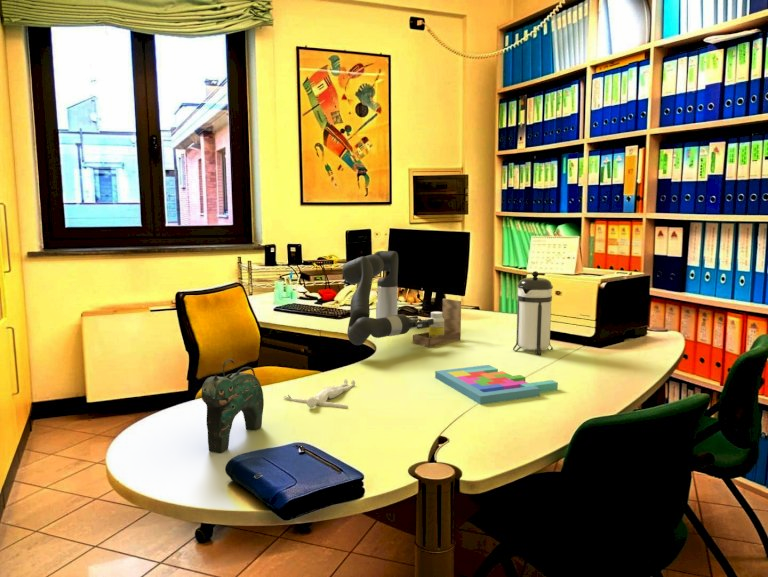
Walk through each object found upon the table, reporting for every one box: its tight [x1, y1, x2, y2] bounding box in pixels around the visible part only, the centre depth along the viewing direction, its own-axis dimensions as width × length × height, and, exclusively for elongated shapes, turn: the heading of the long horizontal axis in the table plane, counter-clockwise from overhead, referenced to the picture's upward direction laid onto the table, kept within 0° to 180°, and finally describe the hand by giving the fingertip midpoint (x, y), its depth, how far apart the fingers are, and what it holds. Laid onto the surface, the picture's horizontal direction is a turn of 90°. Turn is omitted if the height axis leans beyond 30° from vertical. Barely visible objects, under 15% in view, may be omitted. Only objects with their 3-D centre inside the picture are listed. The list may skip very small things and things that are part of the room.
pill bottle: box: [428, 311, 444, 338], centre depth 247 cm, size 6×6×11 cm
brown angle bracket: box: [412, 298, 462, 348], centre depth 246 cm, size 9×18×16 cm, turn 132°
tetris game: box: [434, 364, 559, 405], centre depth 189 cm, size 28×3×28 cm
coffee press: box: [512, 270, 554, 356], centre depth 231 cm, size 17×16×30 cm
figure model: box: [282, 378, 356, 409], centre depth 179 cm, size 21×4×25 cm
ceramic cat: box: [201, 358, 265, 454], centre depth 145 cm, size 20×6×20 cm, turn 158°
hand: (425, 320), depth 241 cm, fingers open, 8 cm apart
